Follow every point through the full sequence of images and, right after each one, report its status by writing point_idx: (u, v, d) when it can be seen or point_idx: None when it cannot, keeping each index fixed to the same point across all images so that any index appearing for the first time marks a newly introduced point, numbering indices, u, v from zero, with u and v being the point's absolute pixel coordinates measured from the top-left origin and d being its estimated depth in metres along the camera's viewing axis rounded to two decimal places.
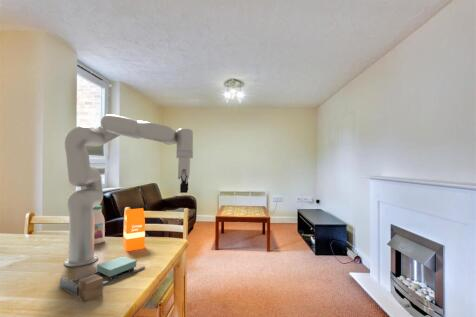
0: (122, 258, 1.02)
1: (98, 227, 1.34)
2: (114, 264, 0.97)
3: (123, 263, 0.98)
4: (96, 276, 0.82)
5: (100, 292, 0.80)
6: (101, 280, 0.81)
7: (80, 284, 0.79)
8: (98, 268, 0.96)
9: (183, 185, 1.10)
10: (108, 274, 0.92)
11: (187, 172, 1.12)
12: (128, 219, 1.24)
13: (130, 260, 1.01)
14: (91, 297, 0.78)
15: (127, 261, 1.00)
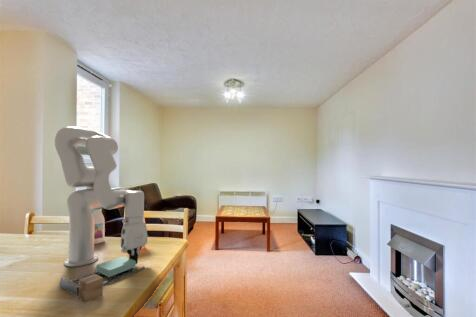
0: (121, 258, 1.02)
1: (98, 227, 1.34)
2: (113, 264, 0.97)
3: (122, 263, 0.97)
4: (96, 276, 0.82)
5: (100, 292, 0.80)
6: (101, 280, 0.81)
7: (80, 284, 0.79)
8: (97, 268, 0.95)
9: None
10: (107, 274, 0.92)
11: None
12: None
13: (129, 260, 1.00)
14: (91, 297, 0.78)
15: (126, 261, 1.00)
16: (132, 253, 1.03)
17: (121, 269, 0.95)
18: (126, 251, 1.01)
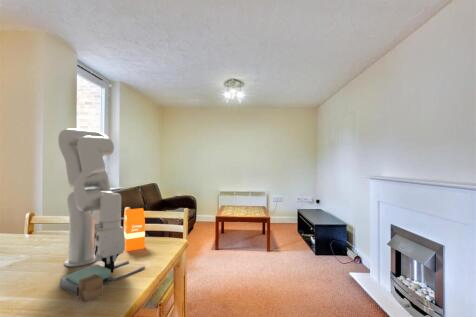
0: (96, 267, 0.93)
1: None
2: (85, 274, 0.88)
3: (95, 273, 0.89)
4: (96, 276, 0.82)
5: (100, 292, 0.80)
6: (101, 280, 0.81)
7: (80, 284, 0.79)
8: None
9: None
10: None
11: None
12: (128, 219, 1.24)
13: (104, 269, 0.92)
14: (91, 297, 0.78)
15: (100, 270, 0.91)
16: (107, 261, 0.94)
17: None
18: (100, 259, 0.92)
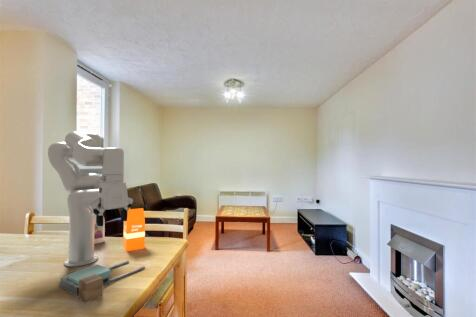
0: (96, 267, 0.93)
1: (98, 227, 1.34)
2: (85, 274, 0.88)
3: (95, 273, 0.89)
4: (96, 276, 0.82)
5: (100, 292, 0.80)
6: (101, 280, 0.81)
7: (80, 284, 0.79)
8: None
9: None
10: None
11: None
12: (128, 219, 1.24)
13: (104, 269, 0.92)
14: (91, 297, 0.78)
15: (100, 270, 0.91)
16: (100, 213, 0.91)
17: None
18: (93, 208, 0.89)
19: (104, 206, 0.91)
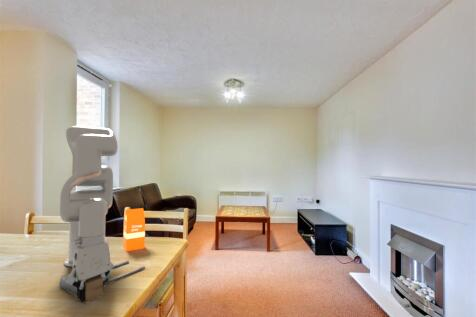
0: None
1: None
2: None
3: None
4: (96, 276, 0.82)
5: (100, 292, 0.80)
6: (101, 280, 0.81)
7: None
8: None
9: None
10: None
11: None
12: (128, 219, 1.24)
13: None
14: (91, 297, 0.78)
15: None
16: (81, 286, 0.77)
17: None
18: (71, 283, 0.75)
19: (79, 277, 0.75)
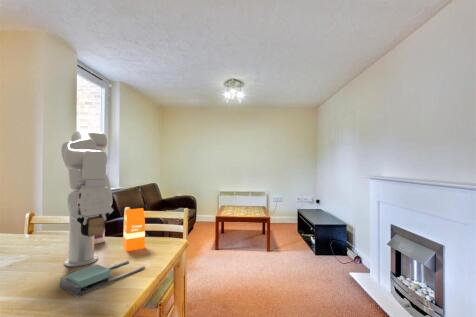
0: (96, 267, 0.93)
1: None
2: (85, 274, 0.88)
3: (95, 273, 0.89)
4: (98, 216, 0.92)
5: (101, 230, 0.91)
6: (102, 219, 0.91)
7: None
8: None
9: None
10: None
11: None
12: (128, 219, 1.24)
13: (104, 269, 0.92)
14: (93, 233, 0.89)
15: (100, 270, 0.91)
16: (84, 222, 0.87)
17: (93, 280, 0.86)
18: (76, 218, 0.86)
19: (83, 213, 0.86)
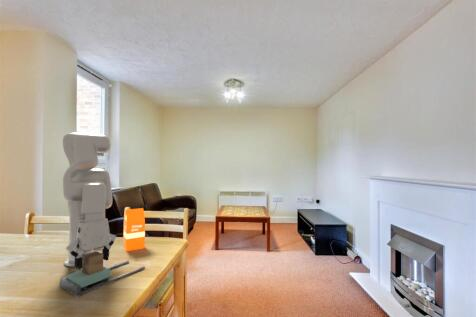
0: None
1: None
2: (85, 274, 0.88)
3: (95, 273, 0.89)
4: (97, 253, 0.92)
5: (101, 266, 0.91)
6: (102, 256, 0.91)
7: (83, 259, 0.89)
8: None
9: None
10: None
11: None
12: (128, 219, 1.24)
13: (104, 269, 0.92)
14: (93, 270, 0.88)
15: None
16: (78, 255, 0.85)
17: (93, 280, 0.86)
18: (70, 250, 0.84)
19: (82, 248, 0.85)
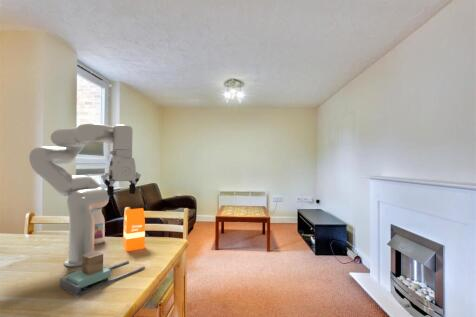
0: None
1: (98, 227, 1.34)
2: (85, 274, 0.88)
3: (95, 273, 0.89)
4: (97, 253, 0.92)
5: (101, 266, 0.91)
6: (102, 256, 0.91)
7: (83, 259, 0.89)
8: None
9: None
10: None
11: None
12: (128, 219, 1.24)
13: (104, 269, 0.92)
14: (93, 270, 0.88)
15: None
16: (111, 184, 0.99)
17: (93, 280, 0.86)
18: (104, 179, 0.98)
19: (114, 178, 0.99)
